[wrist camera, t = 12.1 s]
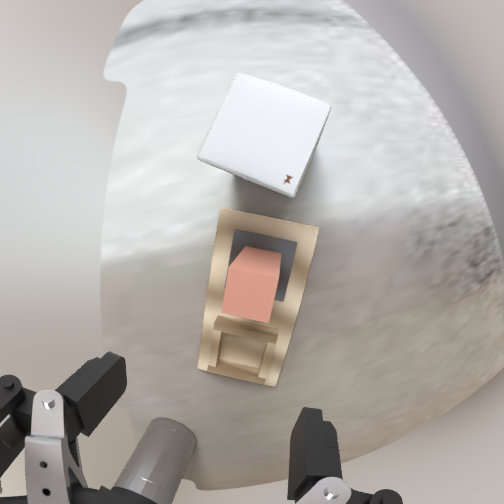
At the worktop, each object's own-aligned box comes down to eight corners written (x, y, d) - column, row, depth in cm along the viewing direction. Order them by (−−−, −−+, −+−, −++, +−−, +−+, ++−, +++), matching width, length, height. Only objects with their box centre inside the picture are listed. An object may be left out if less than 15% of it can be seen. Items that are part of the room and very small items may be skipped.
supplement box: (317, 140, 28) (337, 106, 16) (290, 199, 30) (294, 202, 17) (256, 115, 28) (237, 68, 16) (230, 172, 30) (193, 159, 18)
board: (275, 382, 35) (274, 396, 32) (199, 364, 36) (193, 376, 33) (318, 227, 30) (321, 230, 27) (222, 207, 31) (216, 208, 28)
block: (274, 287, 31) (268, 323, 22) (239, 279, 31) (221, 312, 22) (281, 253, 30) (278, 277, 21) (245, 245, 30) (228, 267, 21)
